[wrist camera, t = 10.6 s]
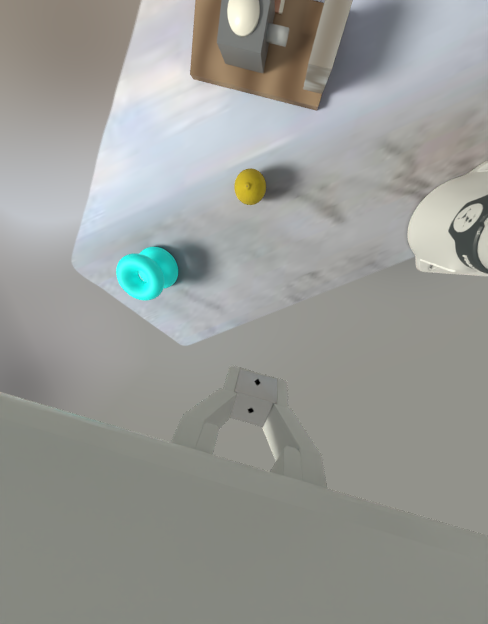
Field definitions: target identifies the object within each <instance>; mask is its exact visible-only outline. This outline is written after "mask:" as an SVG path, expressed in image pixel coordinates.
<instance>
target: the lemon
mask: <svg viewBox="0 0 488 624" xmlns="http://www.w3.org/2000/svg"><path fill="white" fill-rule="evenodd" d="M265 191H266V182H265V179H264V177H263V175H262V174H261V173H260V172H259V171H257V170H256V169H246V170H243V171H242V172H241V173H240V174H239V175H238V176H237V178H236V180H235V193H236V196H237V198H238V199H239V200H240V201H241V202H242V203H244V204H247V205H253V204H256V203H258V202H259V201H260V200H261V199H262V198H263V196H264V194H265Z"/></svg>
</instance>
